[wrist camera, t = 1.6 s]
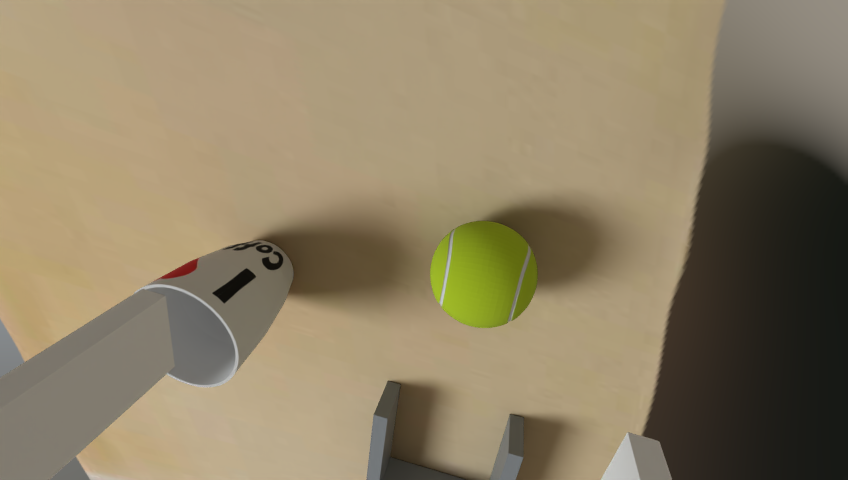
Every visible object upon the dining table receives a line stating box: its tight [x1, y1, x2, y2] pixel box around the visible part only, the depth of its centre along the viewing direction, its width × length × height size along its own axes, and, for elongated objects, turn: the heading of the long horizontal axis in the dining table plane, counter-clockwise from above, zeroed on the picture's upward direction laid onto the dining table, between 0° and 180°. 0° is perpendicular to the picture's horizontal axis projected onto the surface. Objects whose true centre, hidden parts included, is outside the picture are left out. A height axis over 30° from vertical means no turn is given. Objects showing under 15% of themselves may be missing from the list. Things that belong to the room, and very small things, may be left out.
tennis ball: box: [430, 221, 538, 328], centre depth 28 cm, size 7×7×7 cm
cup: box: [134, 240, 294, 387], centre depth 32 cm, size 8×8×10 cm
